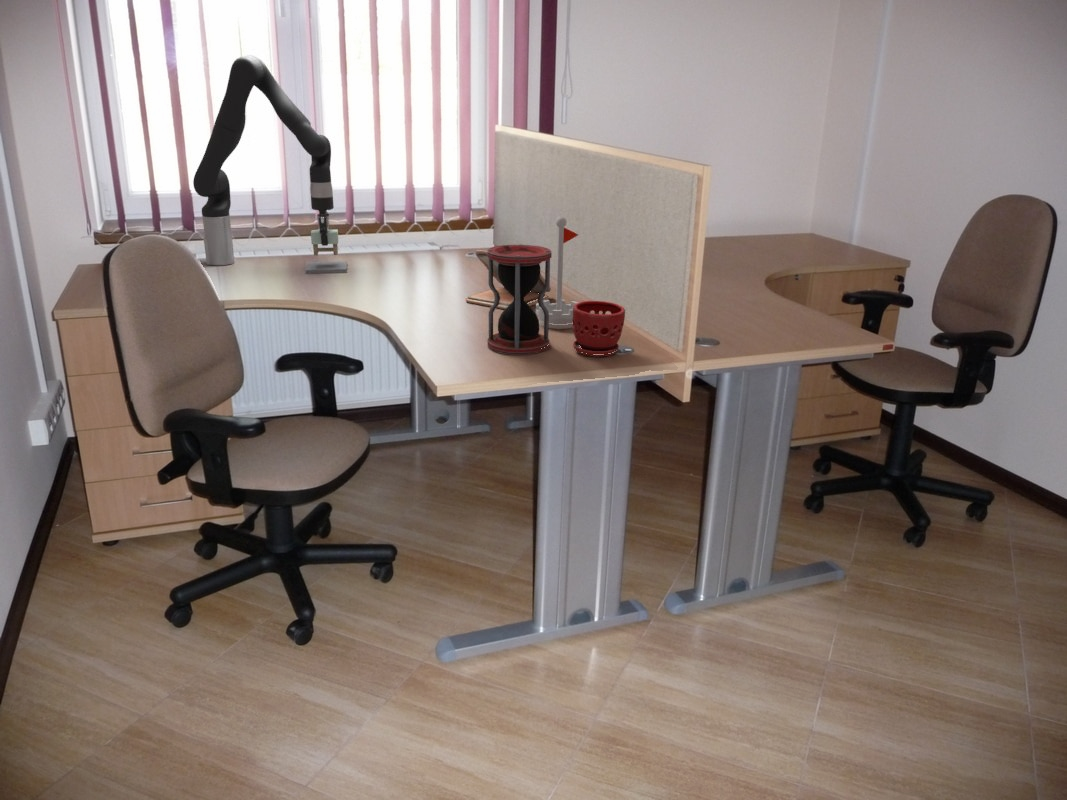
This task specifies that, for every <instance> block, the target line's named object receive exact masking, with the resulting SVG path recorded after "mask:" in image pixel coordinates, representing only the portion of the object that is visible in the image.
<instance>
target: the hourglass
mask: <svg viewBox="0 0 1067 800" xmlns="http://www.w3.org/2000/svg"><path fill="white" fill-rule="evenodd" d="M486 251H487V257H488V268H489V270H488V286H489V290H492V291H493V293H494V297H495V300H494V304H493V305H492V307H490V308H489V311H488V338H487V339H486V341H487V347H488V348H489V349H490V350H491V351H494V352H495V353H499V354H505V355H515V356H518V355H519V356H523V355H533V354H538V353H542V352H543V353H544V351H546V350H548V349H549V348H550V343H551V342H550V339H549V330H550V328H549V313H548V310H547V308H546V307H545V306H544V302H543V297H544V294H545V295H546V293H547V292H546V291H547V290H548V288H549V286H550V282H551V281H550V280H551V279H550V277H551V258H552V253H553V252H552V250H551V249H549V248H547V247H544V246H540V245H530V244H521V243H520V244H519V243H518V244H506V245H505V244H503V245H497V246H496V245H495V246H492V247H488V249H487V250H486ZM493 260H494V261H497V262H498V263H499V264H498V276H499V280H500V282H501V283H500V284H501V285H502V286H503V288H505V289H506V290H507V291H508V292H509V293H510V294H511V295H512V296H513V297H514V301H513V302H512V303H511V304H510V305H509V306H508V307H507V308H506V309H505V310H504V309H503V311H502V313H500V315H499V317H498V321H497V331H498V332H497V333H494V313H495V310H496V309H497V308H496V307H497V306H498V305H499V301H500V296H499V292H498V291H497V290H496V289H495V288H496V287H495V285H494V276H493ZM542 262H545V265H544V266H545V268H544V270H545V272H544V275H545V276H544V279H545V286H544V288H543V290H542V291H541V292H540V293H539V296H538V303H539V306H540V307H541V308H542V310H543V312H544V326H543V334H542V333H539V332H540V324H539V316H538V315H537V314H536V311H535V310H533V308H532V306H529V305H528V304H527V303H526V302H525V301H524V297H525V296H526V295H527V294H528V293H529V292H530V291H531V290H532V289H533V288H534V287H535V285H536V284H537V282H538V280H539V278H540V274H541V263H542ZM549 342H550V343H549ZM548 344H549V345H548ZM547 345H548V346H547ZM544 347H545V348H544ZM541 348H542V349H541Z"/></svg>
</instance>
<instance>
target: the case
mask: <svg viewBox="0 0 1067 800" xmlns="http://www.w3.org/2000/svg"><path fill="white" fill-rule="evenodd" d="M474 255H475V256H476V257H477V258H478V260H479V261H480V262H481V263H482V264H483V265H484V267H485V268H486V269H487V270H488V271H489V268H488V257H487V250H484V249H483V250H481V249H478V250H475V252H474ZM498 264H499V263H498V262H497V261H494V260H493V278H494V279H495V280H496V281H497V282H498V283H499V284H501V282H500V280H499V276H498ZM544 286H545V277H544V276H543V275H542V273H540V278H539V280H538V282H537V284H536V285H535V287H534V288H533V289H532V290H531V292H529V293H528V294H527V295H526V296H525V297H524V301H525V302H526V303H528V302H530V301H533V300H536V299H538V296H539V294H538V293H540V292H541V291H542V290H543V288H544ZM495 289H496V290H497V291H498V292H499V296H500V301H499V305H498V306H497V307H496V308H495V309H500V310H503V311H504V310H505V309H506V308H507V307H506V306H509V305H510V304H511V303H512V302H513V301H514V297H513V296H512V295H511V294H510V293H509V292H508V291H507V290H506V289H505V288H504V287H502V286H501V287H495ZM551 290H552V288H551V286H550V285H549V288H548V290H547V291H546V292H545V294H544V296H545V295H546V293H549V292H551ZM546 296H547V297H545V298H543V301H544V300H550V297H549V296H548V294H547V295H546ZM494 300H495V297H494V293H493V291H492V290H491V289H488V290H485V291H482V292H481V291H480V292H479V293H475V294H472V295H469V296H467V297H466V298H465V302H466V303H469V304H474V305H478V306H479V305H480V306H484V307H490V308H491V307H492V305H493V304H494ZM537 303H538V300H537V301H535V302H532V303H529V304H528V305H529V306H530V307H533V306H536V304H537ZM500 305H501V306H500Z"/></svg>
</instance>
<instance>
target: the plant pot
mask: <svg viewBox="0 0 1067 800" xmlns="http://www.w3.org/2000/svg"><path fill="white" fill-rule="evenodd" d="M592 312H594V313H592ZM600 312H601V313H600ZM606 312H610V314H609V313H608V314H607V313H606ZM625 317H626V309H625V307H623V306H622V305H620V304H618V303H614V302H611V301H605V300H604V301H602V300H585V301H580V302H578V303H577V304H575V305H574V306H573V327H572V331H573V335H574V338H575V340H574V341H573V345H572V347H573V349H574V350H575V349H576V350H575V351H576V352H577V353H579V354H580V355H581V354H582V355H584V356H588V357H595V358H599V357H600V358H603V357H608V356H611V355H614V354H616V353H617V352H618V350H619V349H618V348H620V346H619V344H618V342H619V340H620V338H621V336H622V333H623V328H624V324H625ZM579 345H580V346H581V348H582V349H581V348H579V347H580V346H579ZM617 349H618V350H617ZM616 350H617V351H616ZM614 351H616V352H614ZM581 352H583V353H581ZM612 352H614V353H612ZM586 353H587V354H586ZM608 353H611V354H608ZM593 354H604V355H593Z"/></svg>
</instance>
